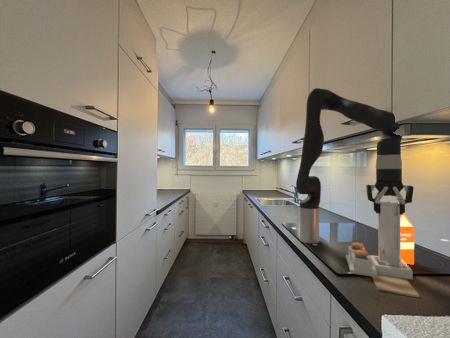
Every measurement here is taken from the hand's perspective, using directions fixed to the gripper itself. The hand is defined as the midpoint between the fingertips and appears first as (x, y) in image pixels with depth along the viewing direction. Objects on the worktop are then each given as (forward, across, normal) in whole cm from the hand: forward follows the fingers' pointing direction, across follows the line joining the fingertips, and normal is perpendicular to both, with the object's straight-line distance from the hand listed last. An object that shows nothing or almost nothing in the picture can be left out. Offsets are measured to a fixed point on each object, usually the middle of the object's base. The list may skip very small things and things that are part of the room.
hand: (388, 213), depth 80 cm
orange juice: (+21, +5, +12) cm, 25 cm away
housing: (+21, -4, 0) cm, 21 cm away
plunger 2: (+19, -9, -5) cm, 21 cm away
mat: (+21, -2, -12) cm, 24 cm away
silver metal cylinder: (+21, 0, 0) cm, 21 cm away
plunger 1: (+19, -9, +4) cm, 21 cm away
